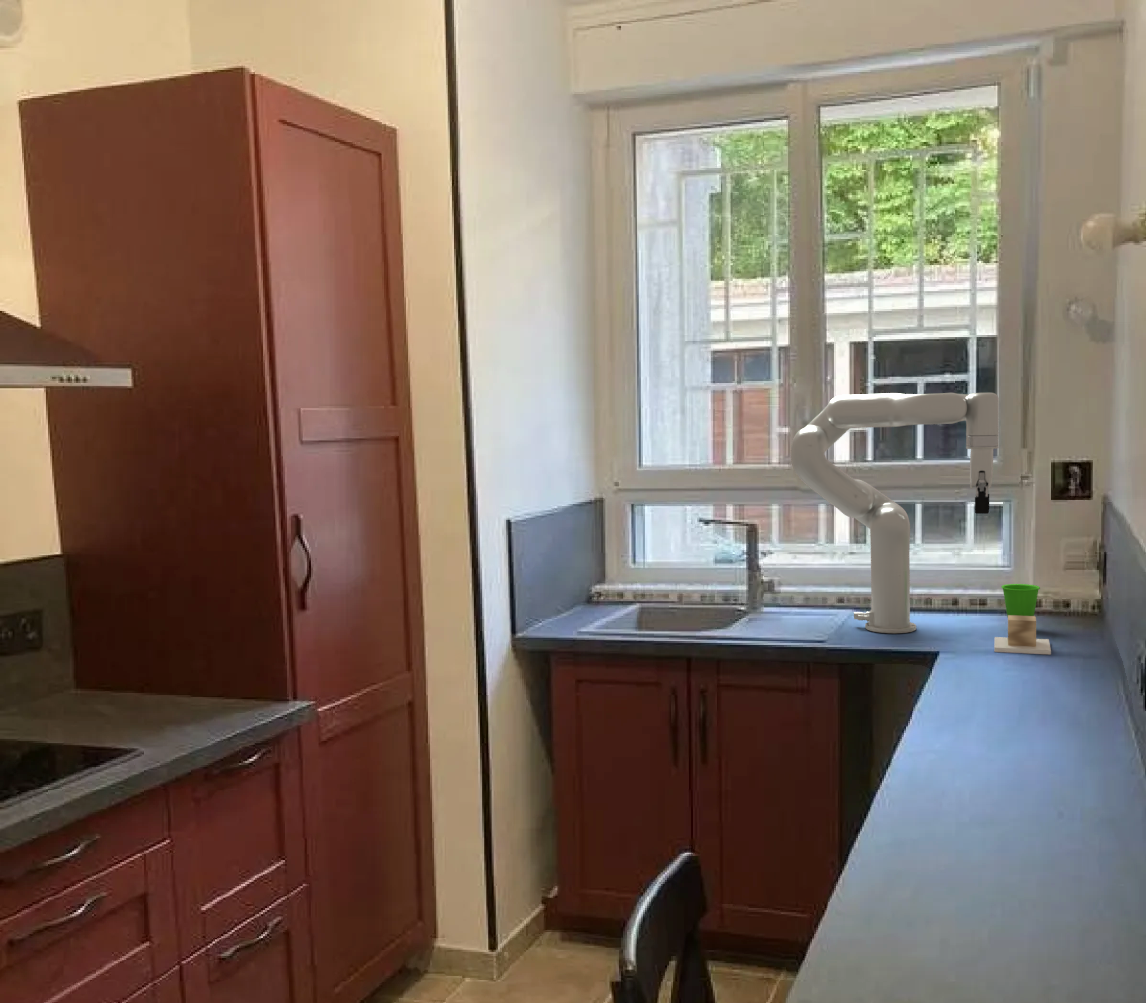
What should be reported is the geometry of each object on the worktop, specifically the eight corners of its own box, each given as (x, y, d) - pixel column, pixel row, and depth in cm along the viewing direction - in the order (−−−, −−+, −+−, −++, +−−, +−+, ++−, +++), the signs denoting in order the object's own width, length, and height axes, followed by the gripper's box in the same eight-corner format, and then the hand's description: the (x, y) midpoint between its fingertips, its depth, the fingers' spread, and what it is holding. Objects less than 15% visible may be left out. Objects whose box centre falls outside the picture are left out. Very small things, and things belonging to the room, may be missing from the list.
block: (1008, 645, 257) (1008, 620, 257) (1007, 640, 263) (1007, 615, 262) (1036, 646, 255) (1036, 621, 255) (1035, 641, 261) (1035, 616, 260)
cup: (1045, 633, 274) (1046, 589, 273) (1008, 634, 274) (1009, 590, 273) (1031, 626, 283) (1031, 583, 282) (995, 626, 283) (995, 584, 282)
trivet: (994, 651, 256) (994, 647, 255) (994, 641, 267) (994, 637, 267) (1050, 654, 251) (1050, 650, 251) (1048, 643, 262) (1048, 639, 262)
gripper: (967, 441, 283) (967, 508, 285) (965, 444, 267) (965, 514, 269) (998, 441, 281) (998, 508, 282) (998, 443, 265) (998, 515, 266)
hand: (982, 511), depth 275 cm, fingers open, 9 cm apart
